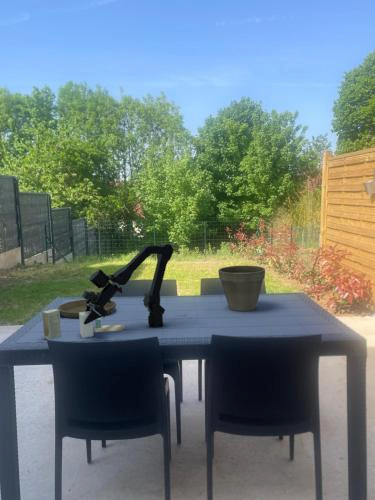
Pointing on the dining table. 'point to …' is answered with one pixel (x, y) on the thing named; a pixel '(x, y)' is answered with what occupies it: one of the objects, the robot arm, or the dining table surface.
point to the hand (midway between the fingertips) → (82, 322)
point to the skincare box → (51, 323)
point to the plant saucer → (80, 308)
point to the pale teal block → (98, 323)
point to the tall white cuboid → (85, 329)
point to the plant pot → (242, 286)
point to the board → (109, 328)
